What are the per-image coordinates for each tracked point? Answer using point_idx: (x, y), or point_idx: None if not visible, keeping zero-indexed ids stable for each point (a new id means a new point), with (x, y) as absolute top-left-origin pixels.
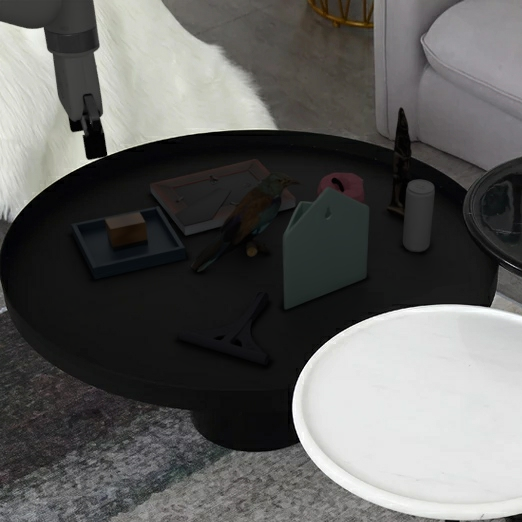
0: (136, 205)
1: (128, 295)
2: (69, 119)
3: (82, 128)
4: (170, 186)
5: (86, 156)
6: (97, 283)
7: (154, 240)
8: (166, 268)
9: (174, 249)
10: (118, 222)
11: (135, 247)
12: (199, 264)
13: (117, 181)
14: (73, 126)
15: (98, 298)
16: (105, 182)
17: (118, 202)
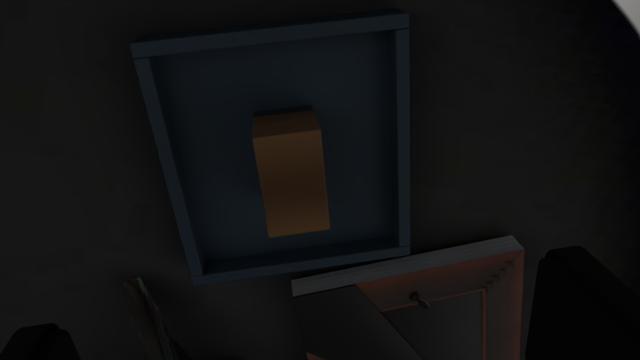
0: (477, 193)
1: (46, 115)
2: (633, 326)
3: (539, 331)
4: (489, 289)
5: (5, 346)
6: (119, 40)
7: None
8: (165, 220)
9: (189, 264)
10: (286, 166)
11: None
12: (127, 300)
13: (610, 165)
14: (566, 299)
15: (36, 31)
16: (622, 136)
17: (511, 154)
